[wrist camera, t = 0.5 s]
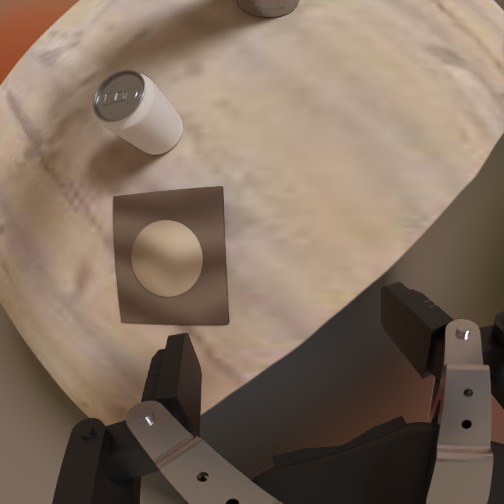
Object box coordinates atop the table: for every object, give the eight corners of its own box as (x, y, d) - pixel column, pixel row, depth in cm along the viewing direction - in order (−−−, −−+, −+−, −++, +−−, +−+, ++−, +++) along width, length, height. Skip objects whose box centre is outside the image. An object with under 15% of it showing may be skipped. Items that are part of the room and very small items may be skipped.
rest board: (117, 197, 36) (111, 196, 35) (223, 187, 35) (221, 185, 34) (125, 320, 37) (120, 322, 35) (229, 322, 36) (227, 325, 35)
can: (181, 155, 35) (143, 122, 23) (134, 156, 36) (83, 129, 24) (186, 107, 35) (154, 61, 23) (140, 111, 35) (97, 71, 23)
